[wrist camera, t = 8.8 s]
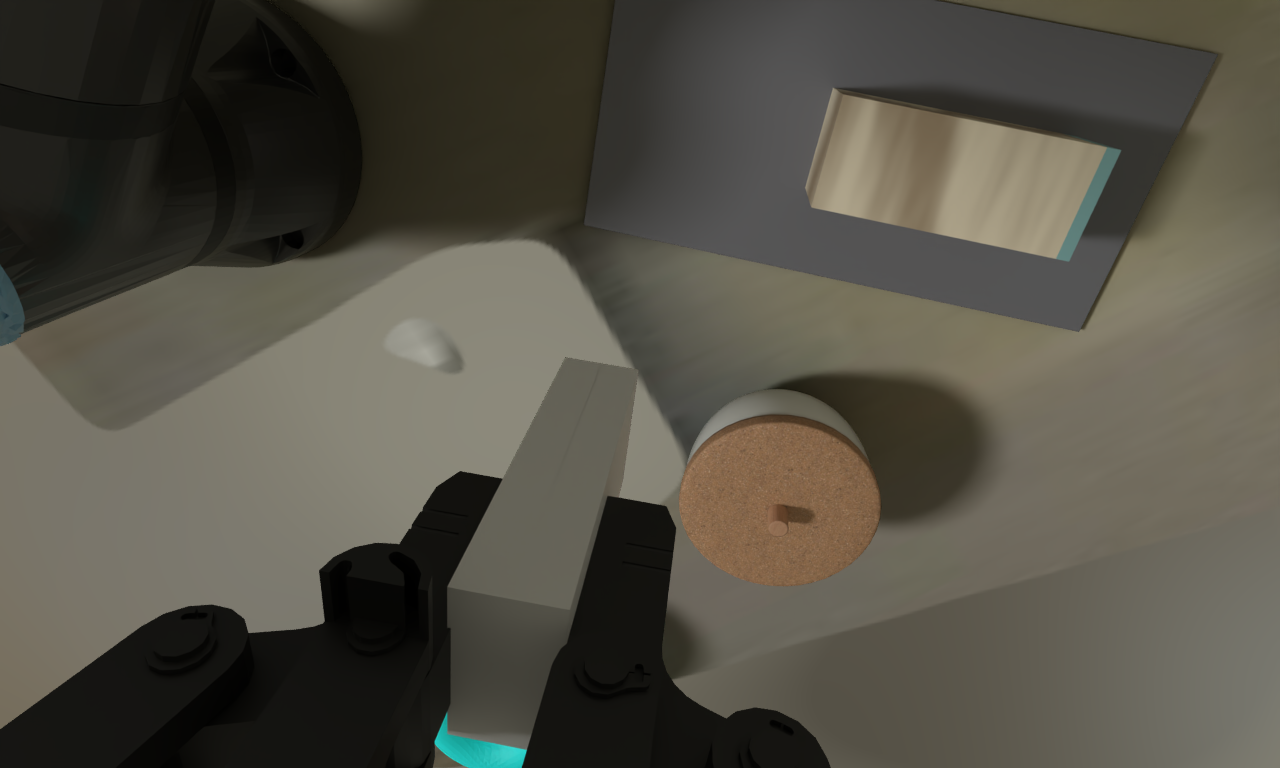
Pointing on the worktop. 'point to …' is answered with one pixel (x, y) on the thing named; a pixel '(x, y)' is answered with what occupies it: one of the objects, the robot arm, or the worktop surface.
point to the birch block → (957, 174)
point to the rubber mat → (884, 67)
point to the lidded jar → (779, 490)
